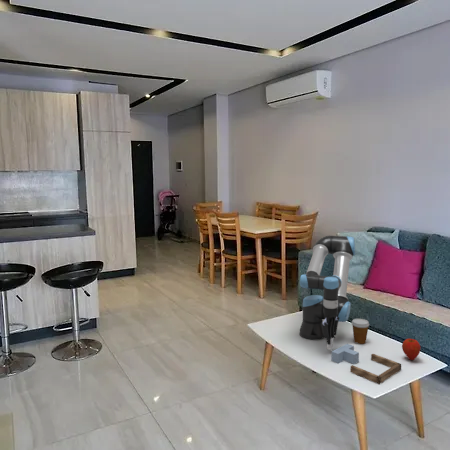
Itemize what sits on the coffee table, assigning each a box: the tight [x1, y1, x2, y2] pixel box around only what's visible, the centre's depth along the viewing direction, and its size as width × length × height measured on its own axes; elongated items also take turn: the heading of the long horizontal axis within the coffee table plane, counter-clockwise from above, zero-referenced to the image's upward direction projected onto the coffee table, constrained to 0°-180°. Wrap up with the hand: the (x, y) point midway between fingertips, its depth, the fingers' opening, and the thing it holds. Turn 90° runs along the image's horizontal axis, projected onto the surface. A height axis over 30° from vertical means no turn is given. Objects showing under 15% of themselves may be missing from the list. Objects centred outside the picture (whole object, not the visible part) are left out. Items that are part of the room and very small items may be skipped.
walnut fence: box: [350, 353, 402, 385], centre depth 193 cm, size 15×20×3 cm
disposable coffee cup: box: [351, 318, 370, 345], centre depth 225 cm, size 10×10×12 cm
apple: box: [401, 338, 422, 361], centre depth 203 cm, size 9×8×11 cm
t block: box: [330, 343, 360, 365], centre depth 205 cm, size 10×14×5 cm
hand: (329, 349), depth 213 cm, fingers closed
